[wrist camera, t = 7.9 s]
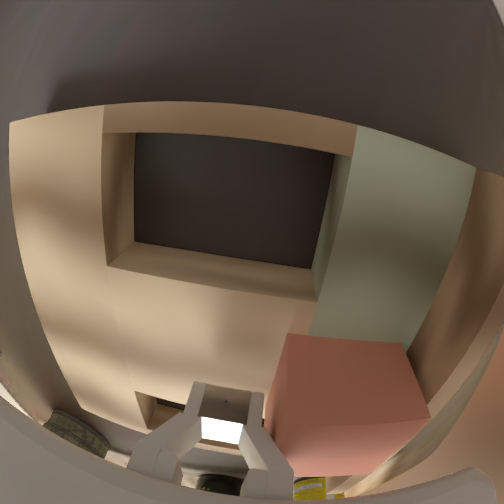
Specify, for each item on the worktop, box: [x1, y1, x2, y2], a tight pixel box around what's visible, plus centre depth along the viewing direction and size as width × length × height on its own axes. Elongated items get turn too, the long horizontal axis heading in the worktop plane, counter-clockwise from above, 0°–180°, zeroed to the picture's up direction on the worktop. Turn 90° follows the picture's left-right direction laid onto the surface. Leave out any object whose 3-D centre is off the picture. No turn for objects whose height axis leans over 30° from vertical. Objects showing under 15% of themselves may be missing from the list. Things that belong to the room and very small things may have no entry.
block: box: [264, 333, 431, 477], centre depth 9 cm, size 5×5×4 cm
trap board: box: [9, 101, 504, 494], centre depth 11 cm, size 20×20×6 cm
